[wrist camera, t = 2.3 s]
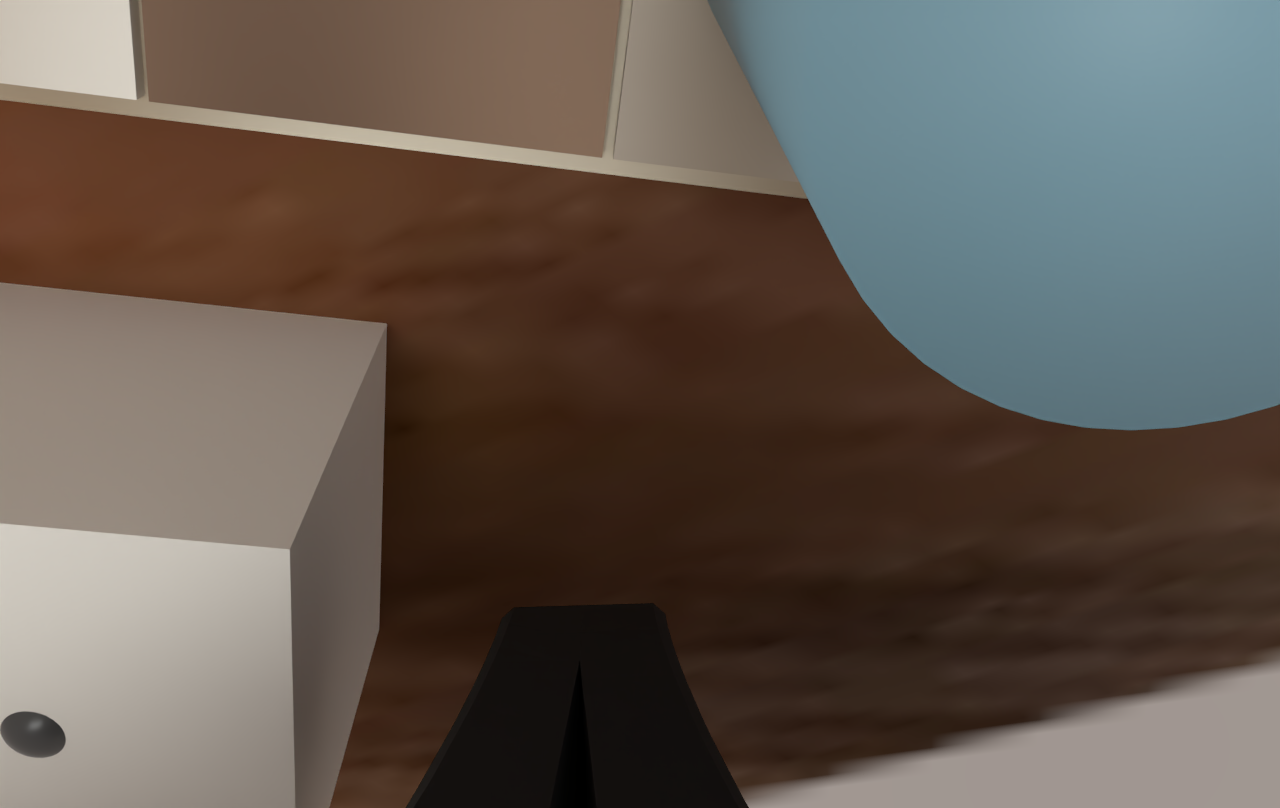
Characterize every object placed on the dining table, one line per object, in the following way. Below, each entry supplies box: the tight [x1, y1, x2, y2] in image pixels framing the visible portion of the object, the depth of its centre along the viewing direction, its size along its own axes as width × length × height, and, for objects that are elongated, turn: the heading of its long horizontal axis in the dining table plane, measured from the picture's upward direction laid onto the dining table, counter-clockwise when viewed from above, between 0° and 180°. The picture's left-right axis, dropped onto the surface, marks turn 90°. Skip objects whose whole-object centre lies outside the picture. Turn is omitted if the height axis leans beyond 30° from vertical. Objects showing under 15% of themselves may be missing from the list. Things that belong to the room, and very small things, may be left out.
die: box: [0, 283, 387, 808], centre depth 10 cm, size 4×4×4 cm
